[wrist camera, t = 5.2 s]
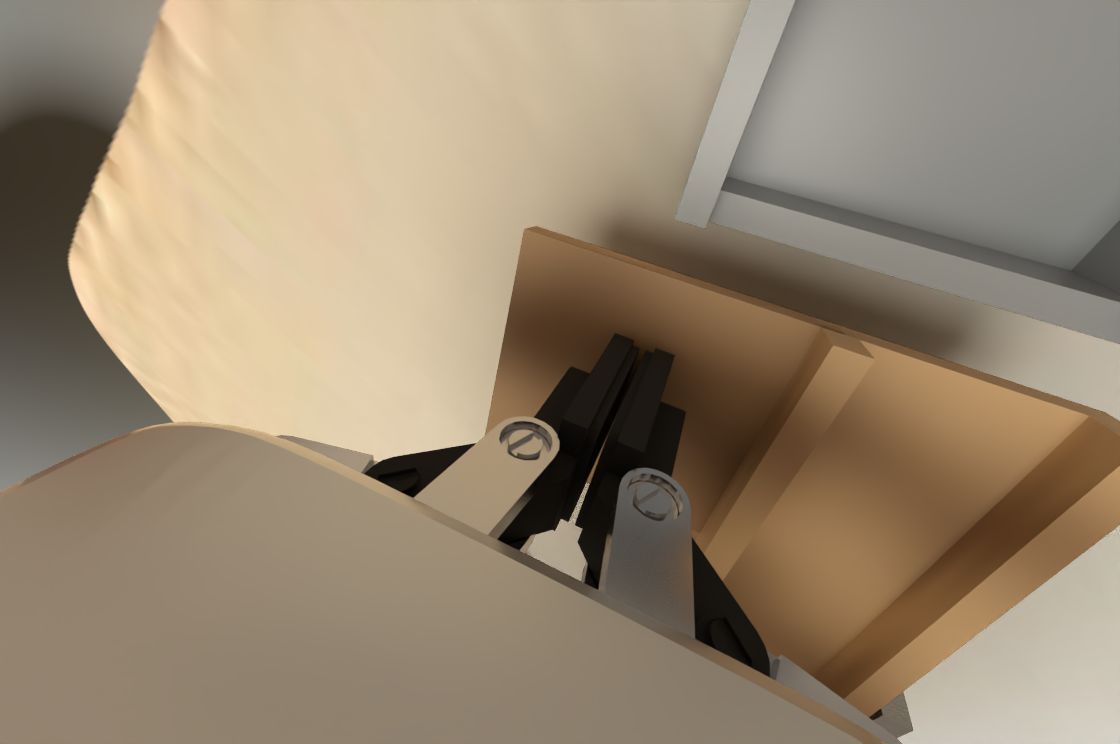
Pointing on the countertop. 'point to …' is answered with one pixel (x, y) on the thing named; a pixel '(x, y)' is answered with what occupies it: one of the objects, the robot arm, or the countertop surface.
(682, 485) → the seesaw
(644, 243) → the countertop surface
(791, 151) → the tray
